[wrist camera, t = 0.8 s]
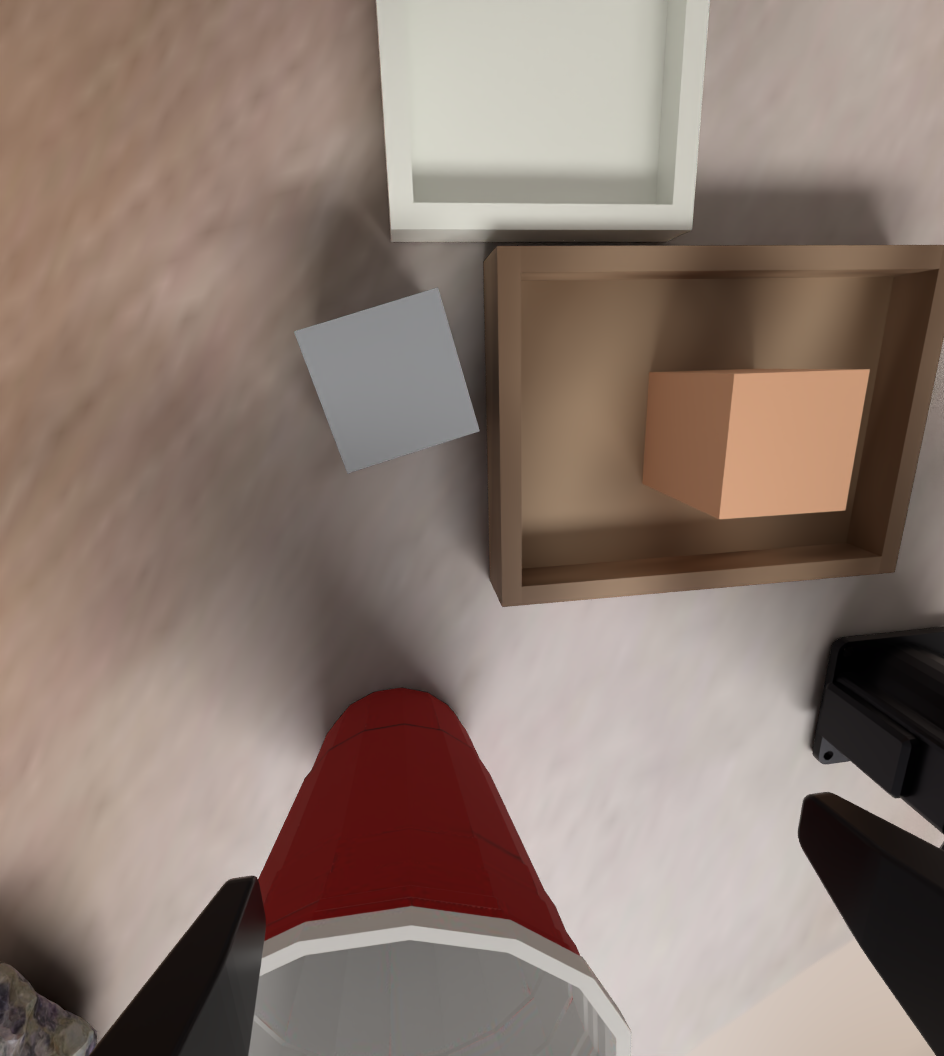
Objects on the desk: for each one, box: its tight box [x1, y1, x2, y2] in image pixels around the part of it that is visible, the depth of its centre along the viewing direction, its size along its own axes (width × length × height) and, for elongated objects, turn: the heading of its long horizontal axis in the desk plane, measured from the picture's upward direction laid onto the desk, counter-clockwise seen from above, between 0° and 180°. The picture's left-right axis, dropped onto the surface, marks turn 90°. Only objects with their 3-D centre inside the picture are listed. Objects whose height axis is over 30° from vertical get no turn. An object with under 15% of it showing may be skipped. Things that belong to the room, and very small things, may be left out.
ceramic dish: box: [375, 0, 710, 242], centre depth 16 cm, size 9×9×2 cm
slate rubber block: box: [294, 287, 480, 474], centre depth 17 cm, size 4×4×4 cm
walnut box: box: [483, 245, 944, 607], centre depth 20 cm, size 15×11×2 cm
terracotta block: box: [642, 369, 870, 519], centre depth 18 cm, size 4×4×5 cm
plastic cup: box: [248, 688, 631, 1056], centre depth 17 cm, size 11×11×12 cm
